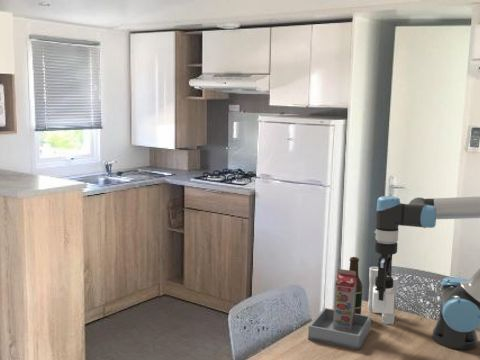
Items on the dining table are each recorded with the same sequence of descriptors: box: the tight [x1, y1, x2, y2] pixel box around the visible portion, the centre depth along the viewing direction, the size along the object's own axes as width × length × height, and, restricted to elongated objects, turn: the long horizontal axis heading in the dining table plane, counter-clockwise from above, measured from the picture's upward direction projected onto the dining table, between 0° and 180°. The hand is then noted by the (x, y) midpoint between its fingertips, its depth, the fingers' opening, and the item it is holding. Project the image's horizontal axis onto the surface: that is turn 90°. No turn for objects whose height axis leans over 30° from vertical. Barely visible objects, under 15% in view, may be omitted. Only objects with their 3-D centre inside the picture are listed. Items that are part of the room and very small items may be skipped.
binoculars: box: [367, 266, 399, 325], centre depth 218 cm, size 17×5×18 cm, turn 14°
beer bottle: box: [348, 256, 363, 315], centre depth 217 cm, size 8×8×24 cm
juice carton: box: [333, 268, 357, 332], centre depth 203 cm, size 7×7×22 cm
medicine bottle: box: [372, 276, 396, 314], centre depth 191 cm, size 7×7×12 cm
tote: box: [307, 307, 372, 351], centre depth 200 cm, size 18×20×5 cm
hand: (383, 304), depth 191 cm, fingers closed on medicine bottle, 8 cm apart
